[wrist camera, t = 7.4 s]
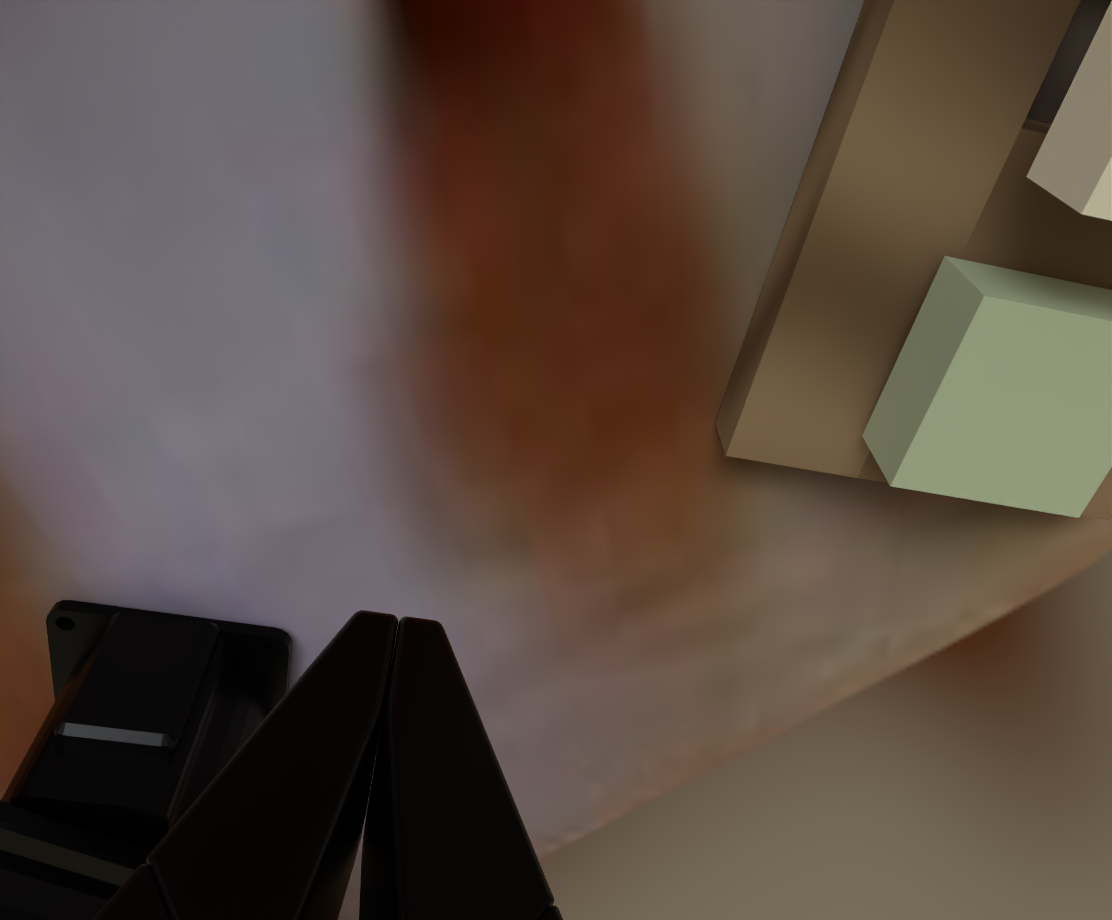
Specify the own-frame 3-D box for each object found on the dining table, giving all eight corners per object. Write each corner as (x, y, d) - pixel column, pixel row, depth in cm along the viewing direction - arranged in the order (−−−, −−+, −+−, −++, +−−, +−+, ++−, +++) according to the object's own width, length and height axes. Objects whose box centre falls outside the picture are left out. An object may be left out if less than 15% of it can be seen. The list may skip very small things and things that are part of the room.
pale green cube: (1010, 432, 23) (1078, 518, 20) (844, 403, 23) (890, 486, 20) (1101, 268, 21) (1194, 338, 18) (919, 230, 20) (984, 295, 17)
